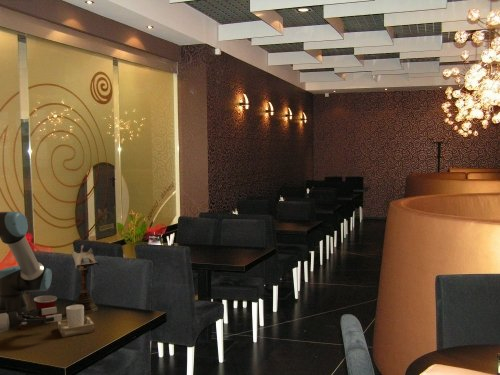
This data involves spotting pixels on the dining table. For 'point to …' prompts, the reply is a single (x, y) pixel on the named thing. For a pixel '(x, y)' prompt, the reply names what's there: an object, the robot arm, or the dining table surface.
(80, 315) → the white cup
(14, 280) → the robot arm
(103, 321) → the dining table surface
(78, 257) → the bird statue
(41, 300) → the plastic cup
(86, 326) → the birch crate
